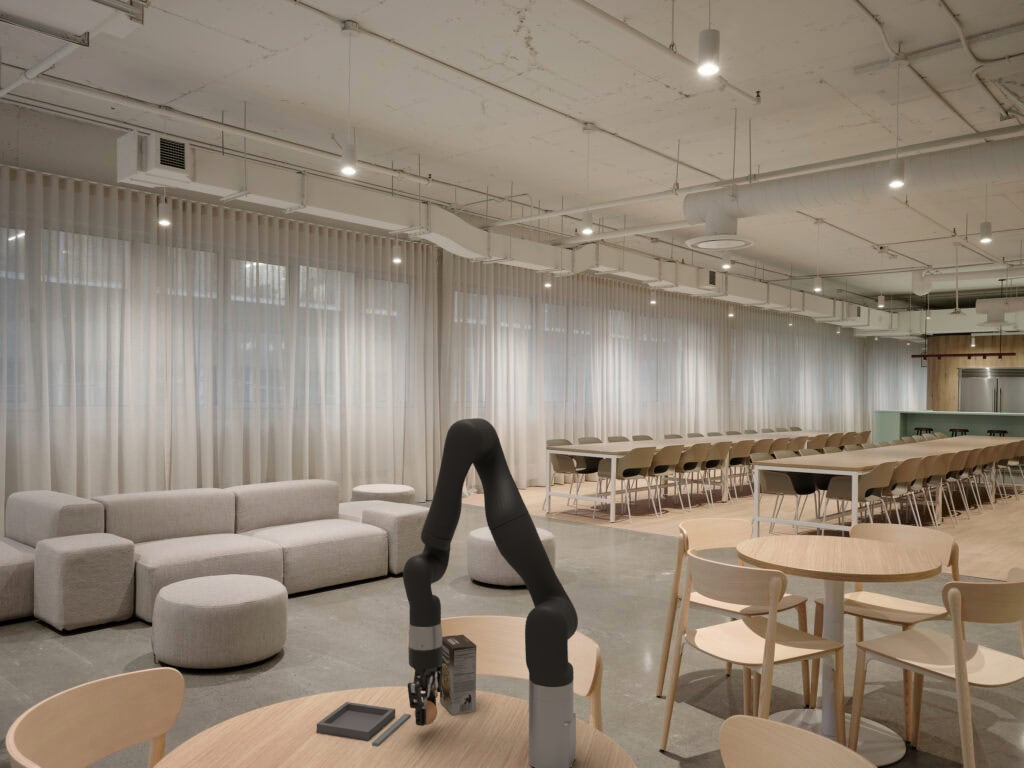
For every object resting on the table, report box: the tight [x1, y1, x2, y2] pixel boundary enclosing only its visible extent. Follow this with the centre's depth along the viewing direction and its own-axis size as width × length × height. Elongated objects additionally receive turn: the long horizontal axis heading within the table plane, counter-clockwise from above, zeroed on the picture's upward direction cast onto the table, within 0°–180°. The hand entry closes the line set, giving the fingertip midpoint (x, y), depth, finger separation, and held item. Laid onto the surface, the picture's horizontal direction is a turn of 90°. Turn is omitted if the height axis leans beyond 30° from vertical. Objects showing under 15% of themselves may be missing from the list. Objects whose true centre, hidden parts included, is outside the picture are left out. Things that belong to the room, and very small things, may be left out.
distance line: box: [371, 713, 411, 747], centre depth 174 cm, size 2×16×1 cm, turn 162°
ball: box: [414, 701, 438, 726], centre depth 172 cm, size 5×5×5 cm
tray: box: [316, 701, 396, 742], centre depth 177 cm, size 13×13×2 cm
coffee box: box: [439, 634, 477, 716], centre depth 188 cm, size 9×6×16 cm
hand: (426, 719), depth 172 cm, fingers closed on ball, 5 cm apart
